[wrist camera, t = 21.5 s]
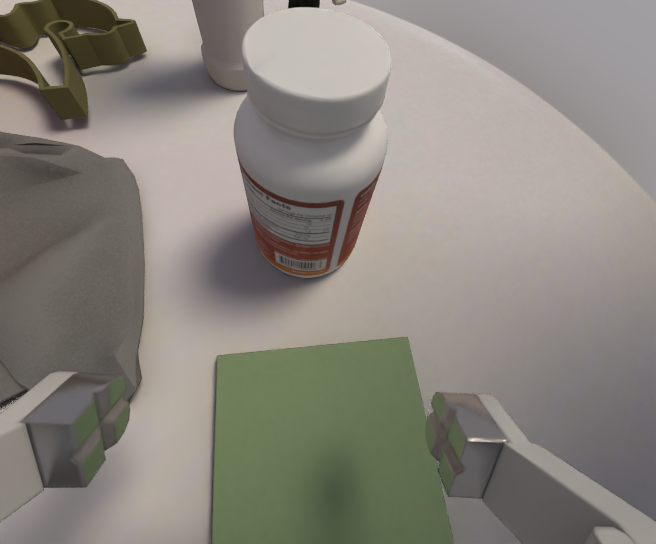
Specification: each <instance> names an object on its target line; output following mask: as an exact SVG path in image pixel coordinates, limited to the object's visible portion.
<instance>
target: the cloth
mask: <svg viewBox="0 0 656 544" xmlns="http://www.w3.org/2000/svg"><path fill="white" fill-rule="evenodd" d="M144 266H145V263H144V243H143V223H142V211H141V204H140V196H139V189H138V186H137V183H136V180H135V177H134V175H133V173H132V172H131V170H130V169H129V168H128V166H127V165H126V163H125V162H124V160H123V159H119V158H104V157H102V156H100V155H97V154H95V153H93V152H91V151H89V150H87V149H84V148H82V147H80V146H76V145H71V144H67V143H62V142H57V141H52V140H47V139H42V138H36V137H30V136H23V135H17V134H10V133H3V132H0V403H2V402H4V401H6V400H8V399H10V398H12V397H14V396H16V395H17V394H19V393H21V392H23V391H25V390H27V389H28V390H31V389H32V388H33V387H34V386H36V385H37V384H38V383H39V382H41V381H42V380H43V379H44V378H45V377H47V376H48V375H49V374H50V373H53V372H57V371H67V372H78V373H79V372H85V373H98V374H111V375H121V376H123V377H124V378H125V381H126V386H127V389H126V390H125V392H124V393H123V394H122V396H123V397H124V398H125V399H126V400H127V401H128V400H129V399H130V397H131V396H132V394H133V393H134V391H135V390H136V388H137V386H138V384H139V382H140V380H141V379H142V377H141V371H140V365H139V360H138V354H137V353H138V347H139V341H140V334H141V328H142V322H143V313H144Z"/></svg>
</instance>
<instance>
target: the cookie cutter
mask: <svg viewBox="0 0 656 544" xmlns="http://www.w3.org/2000/svg"><path fill="white" fill-rule="evenodd" d="M75 26H81V27H90V28H96V29H101V30H105V31H108V32H106V33H98V34H91V33H85V34H78V32H77V30H76V28H75ZM40 35H48V37H49V38H50V40H51V42H52V43H53V45H54V46H55V48H56V50H57V51H58V53H59V54H60V56H61V58H62V59H63V63H64V85H63V86H51V87H50V86H49V84H48V83H47V81H46V80H45V78H44V77H43V76H42V74H41V73H40V71H39V70H38V69H37V67H36V66H35V64H34V63H33V62H32V61H31V60H30V59H29V58H28V57H26V56H25V55H24V54H22V53H21V52H19V51H17V50H15V49H13V48H10V47H7V46H4V45H1V44H0V74H4V75H12V76H18V77H22V78H25V79H28V80H31V81H33V82H35V83H37V84H38V85H39V90H40V92H41V93H42V94H43V96H44V97H45V98H46V100H47V101H48V102H49V104H50V105H51V107H52V108H53V109H54V111H55V112H56V113H57V115H58V116H59V117H60V119H61V120H65V119H74V118H84V117H87V116H88V102H87V93H86V88H85V85H84V82H83V79H82V77H81V75H80V73H79V72H78V70H77V68H76V67H75V65H74V63H73V62H72V60H71V58H70V57H69V55H70V54H71V56H72V57H73V59H74V61H75V63H76V64H77V65H78V67H79V68H80V69H81V70H83V69H88V68H92V67H96V66H101V65H119V64H123V63H125V62H126V61H128V60H129V58H130V57H133V56H136V55H140V54H142V53H145V52H146V51H147V50H146V47H145V44H144V42H143V39H142V37H141V34H140V32H139V29H138V26H137V24H136V21H135V20H131V19H119V18H118V16H117V14H116V12H115V11H114V10H113V9H112V8H111V7H109V6H108V5H106V4H104V3H102V2H99V1H97V0H38V1H34V2H23V3H18V4H15V6H14V8H13V10H12V11H11V12H10V13H8V14H6V15H0V40H1V41H3V42H5V43H7V44H9V45H12V46H14V47H18V48H27V47H30V46H32V45H34V44H35V43H36V41H37V39H38V36H40Z"/></svg>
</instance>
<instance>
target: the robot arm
mask: <svg viewBox="0 0 656 544" xmlns="http://www.w3.org/2000/svg"><path fill="white" fill-rule="evenodd" d="M126 389H127V386H126V381H125V378H124V377H123V376H121V375H111V374H98V373H85V372H79V373H78V372H67V371H57V372H53V373H50V374H49V375H48V376H47V377H45V378H44V379H43V380H42V381H41V382H39V383H38V384H37V385H36V386H34V387H33V388H32V389H31V390H29V391H28V392H27V393H26V394H24V395H23V396H22V397H21V398H19V399H18V400H17V401H16V402H14V403H13V404H12V405H11V406H9V407H8V408H7V409H6V410H4V411H3V412H2V413H1V414H0V522H1V521H3V520H4V519H6V518H7V517H8V516H10V515H11V514H12V513H14V512H15V511H16V510H18V509H19V508H20V507H22V506H23V505H25V504H26V503H27V502H29V501H30V500H31V499H33V498H34V497H35V496H37V495H38V494H39V493H41V492H42V491H44V488H84V487H87V486H88V484H89V483H90V481H91V480H92V479H93V477H94V476H95V474H96V473H97V471H98V470H99V469H100V467H101V466H102V464H103V463H104V461H105V460H106V459H105V451H106V450H107V449H109V448H110V447H112V446H113V445H115V444H116V443H118V441H119V440H120V438H121V437H122V435H123V433H124V432H125V429H126V426H127V424H128V421H129V414H130V407H129V402H128V401H127V400H126V399H125V398H124V397H123V396H122V394H123V393H124V392H125V390H126ZM431 404H432V407H433V409H434V411H433V412H432V413H431V414H430V415H429V416H428V417H427V422H426V426H425V429H426V441H427V445H428V448H429V451H430V453H431V455H432V456H433V457H434V458H435V459H437V460H438V461H439V462H440V464H439V467H438V473H439V475H440V478H441V480H442V483H443V485H444V488H445V490H446V493H447V495H448V497H461V498H478V499H482V501H483V502H484V503H485V504H486V505H487V507H488V508H489V509H490V510H491V511H492V512H493V513H494V514H495V515H496V516H497V517H498V518H499V519H500V520H501V521H502V522H503V524H504V525H505V526H506V527H507V528H508V529H509V530H510V531H511V532H512V533H513V534H514V535H515V536H516V537H517V538H518V539H519V540H520V542H521V543H522V544H656V521H654V520H653V519H651V518H650V517H648V516H647V515H645V514H644V513H642V512H641V511H639V510H638V509H636V508H635V507H633V506H631V505H630V504H628V503H627V502H625V501H624V500H622V499H621V498H619V497H618V496H616V495H615V494H613V493H612V492H610V491H609V490H607V489H605V488H604V487H602V486H601V485H599V484H598V483H596V482H595V481H593V480H592V479H590V478H589V477H587V476H586V475H584V474H583V473H581V472H579V471H578V470H576V469H575V468H573V467H572V466H570V465H569V464H567V463H566V462H564V461H563V460H561V459H560V458H558V457H556V456H555V455H553V454H552V453H550V452H549V451H547V450H546V449H544V448H543V447H541V446H540V445H538V444H531V443H530V441H529V440H528V439H527V437H526V436H525V435H524V434H523V432H522V431H521V430H520V428H519V427H518V426H517V425H516V423H515V422H514V421H513V419H512V418H511V417H510V416H509V414H508V413H507V412H506V410H505V409H504V408H503V407H502V405H501V404H500V403H499V401H498V400H497V399H496V398H495V397H494V396H493V395H491V394H480V393H472V394H468V393H446V392H436V393H435V395H434V396H433V399H432V402H431Z"/></svg>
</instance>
